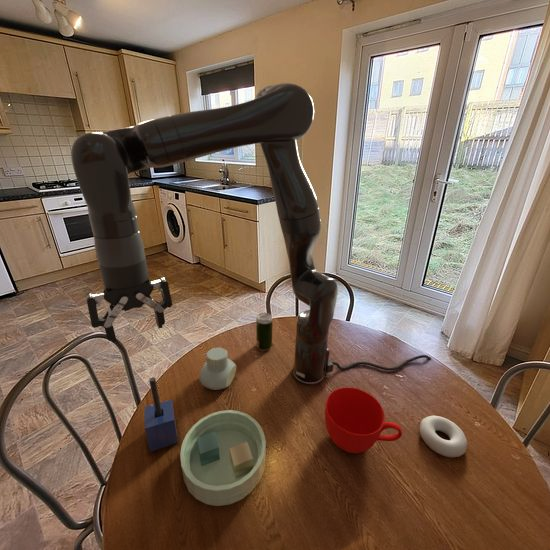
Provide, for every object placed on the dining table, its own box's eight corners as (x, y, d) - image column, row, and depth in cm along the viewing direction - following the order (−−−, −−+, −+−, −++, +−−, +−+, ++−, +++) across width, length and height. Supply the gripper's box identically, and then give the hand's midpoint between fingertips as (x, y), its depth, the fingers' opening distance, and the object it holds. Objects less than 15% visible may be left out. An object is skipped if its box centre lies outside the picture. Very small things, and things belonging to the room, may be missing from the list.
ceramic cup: (395, 483, 61) (405, 451, 56) (316, 454, 66) (319, 423, 62) (395, 430, 72) (403, 401, 68) (327, 409, 77) (331, 381, 73)
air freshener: (214, 365, 91) (212, 339, 87) (238, 370, 89) (238, 344, 85) (196, 391, 82) (193, 363, 77) (223, 398, 80) (222, 369, 75)
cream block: (247, 453, 65) (247, 441, 63) (253, 470, 62) (253, 458, 60) (230, 460, 64) (229, 448, 62) (235, 478, 60) (234, 465, 59)
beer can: (261, 353, 97) (261, 323, 92) (253, 344, 101) (253, 315, 96) (275, 347, 100) (275, 318, 95) (266, 339, 104) (267, 310, 99)
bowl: (250, 417, 74) (250, 401, 72) (277, 485, 60) (278, 468, 57) (178, 440, 68) (176, 424, 66) (189, 524, 53) (186, 506, 51)
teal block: (216, 443, 67) (214, 431, 65) (219, 459, 64) (218, 447, 62) (198, 449, 66) (196, 437, 64) (201, 466, 62) (199, 454, 61)
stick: (166, 434, 69) (155, 376, 62) (166, 438, 68) (155, 380, 61) (160, 436, 69) (149, 378, 62) (161, 440, 68) (149, 382, 61)
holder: (175, 422, 72) (171, 399, 69) (178, 444, 67) (174, 419, 64) (149, 430, 70) (144, 406, 67) (150, 453, 65) (144, 428, 62)
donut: (469, 467, 64) (459, 428, 73) (474, 457, 63) (463, 419, 71) (420, 452, 67) (416, 416, 75) (423, 442, 65) (419, 407, 74)
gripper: (76, 273, 45) (100, 356, 52) (169, 256, 53) (179, 330, 59) (73, 258, 51) (95, 335, 57) (157, 245, 58) (168, 314, 65)
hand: (138, 333), depth 58 cm, fingers open, 8 cm apart
